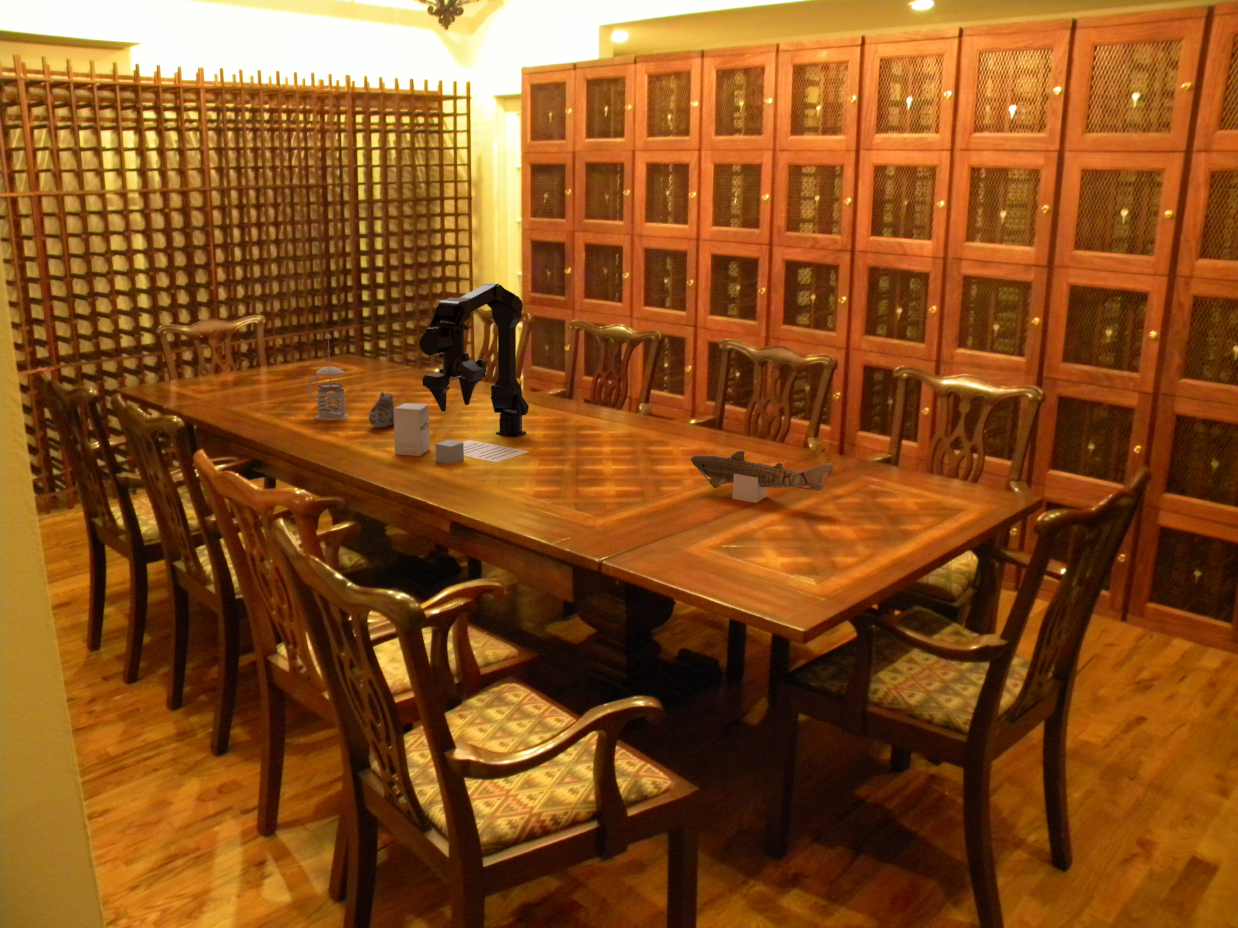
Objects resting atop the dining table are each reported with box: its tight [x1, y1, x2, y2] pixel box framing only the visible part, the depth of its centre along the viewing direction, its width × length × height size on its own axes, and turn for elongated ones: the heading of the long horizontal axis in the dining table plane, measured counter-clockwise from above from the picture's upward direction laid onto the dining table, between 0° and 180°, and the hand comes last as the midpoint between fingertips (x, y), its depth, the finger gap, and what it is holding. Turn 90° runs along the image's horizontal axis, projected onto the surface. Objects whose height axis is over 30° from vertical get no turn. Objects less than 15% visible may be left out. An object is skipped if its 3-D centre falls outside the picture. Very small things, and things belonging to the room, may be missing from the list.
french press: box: [307, 334, 349, 421], centre depth 319 cm, size 10×12×25 cm
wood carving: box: [690, 450, 834, 503], centre depth 248 cm, size 9×35×11 cm, turn 61°
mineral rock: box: [368, 391, 395, 428], centre depth 311 cm, size 13×11×10 cm
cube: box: [435, 439, 465, 465], centre depth 275 cm, size 5×5×5 cm
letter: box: [462, 439, 530, 463], centre depth 286 cm, size 14×21×1 cm, turn 57°
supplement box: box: [393, 403, 431, 457], centre depth 282 cm, size 7×7×13 cm
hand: (455, 408), depth 279 cm, fingers open, 9 cm apart
